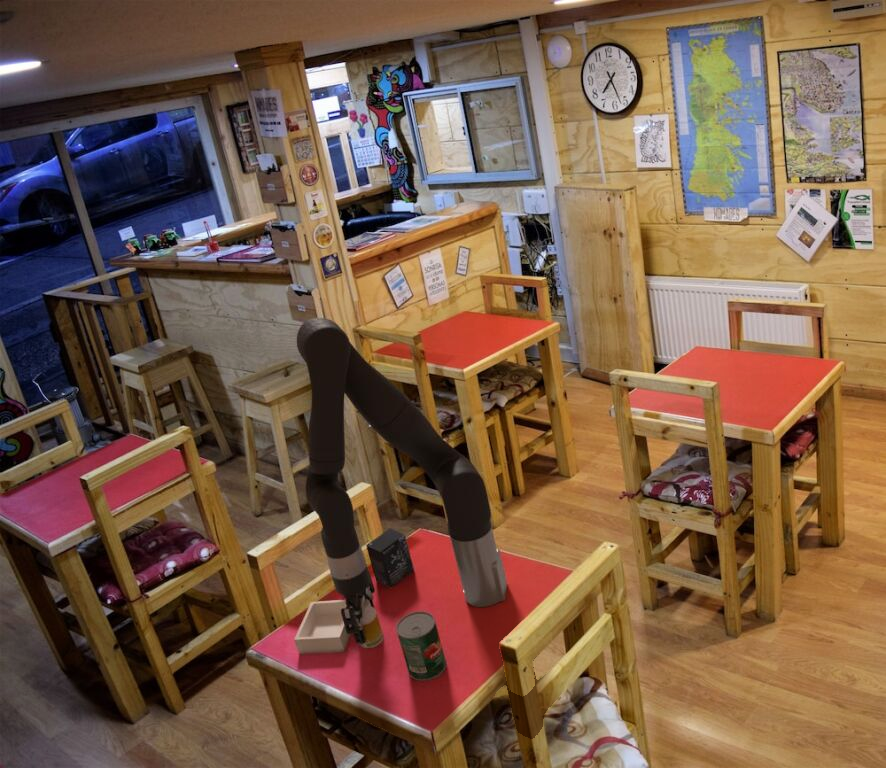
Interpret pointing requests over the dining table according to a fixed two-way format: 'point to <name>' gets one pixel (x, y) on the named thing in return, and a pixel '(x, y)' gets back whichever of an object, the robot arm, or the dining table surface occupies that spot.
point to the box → (390, 557)
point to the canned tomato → (421, 645)
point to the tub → (322, 629)
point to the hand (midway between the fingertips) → (366, 628)
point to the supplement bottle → (371, 626)
